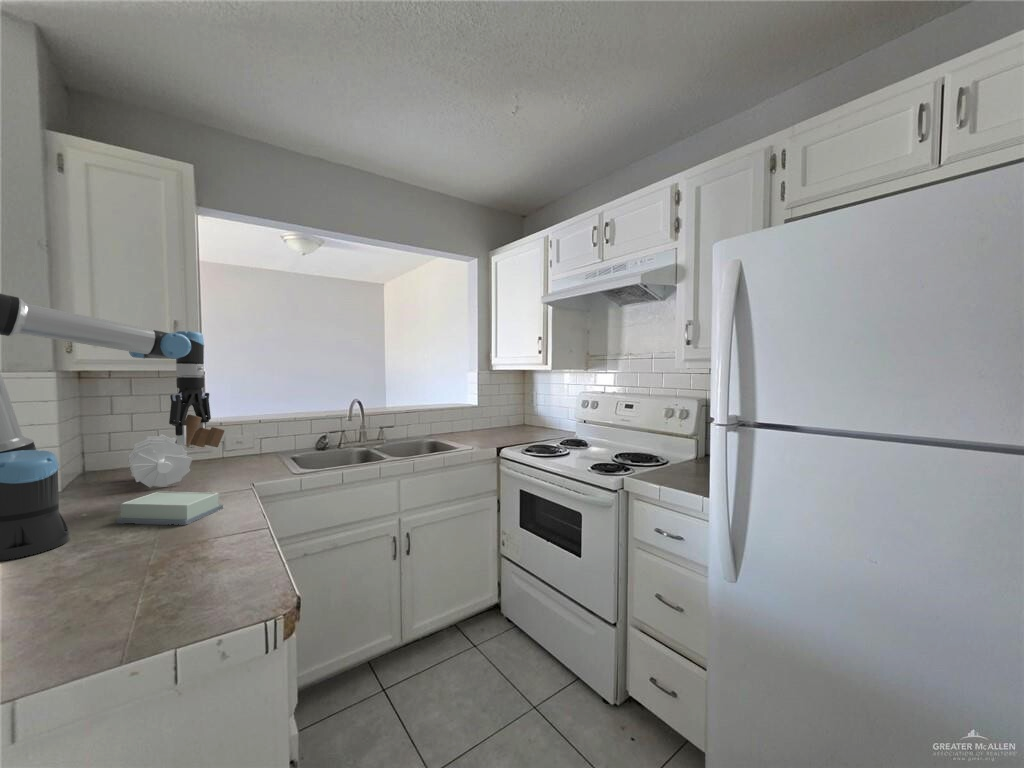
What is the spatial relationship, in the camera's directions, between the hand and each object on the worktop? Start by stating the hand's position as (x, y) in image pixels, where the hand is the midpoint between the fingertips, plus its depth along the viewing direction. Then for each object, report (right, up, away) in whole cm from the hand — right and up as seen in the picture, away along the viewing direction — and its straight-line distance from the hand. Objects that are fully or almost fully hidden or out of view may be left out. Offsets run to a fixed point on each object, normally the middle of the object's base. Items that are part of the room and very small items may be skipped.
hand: (191, 442), depth 142 cm
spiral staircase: (-26, -18, +18) cm, 37 cm away
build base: (+8, -20, -18) cm, 28 cm away
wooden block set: (+1, -1, 0) cm, 2 cm away
